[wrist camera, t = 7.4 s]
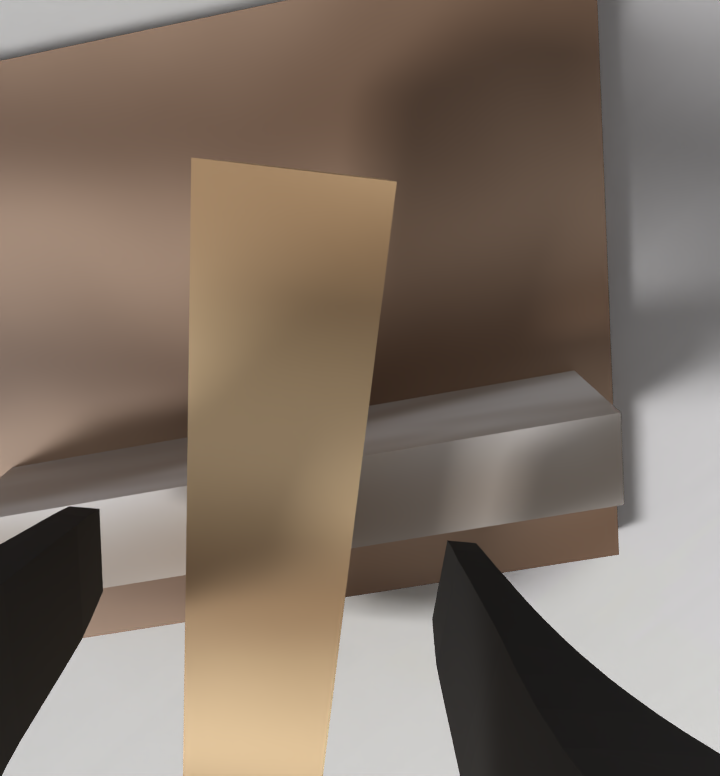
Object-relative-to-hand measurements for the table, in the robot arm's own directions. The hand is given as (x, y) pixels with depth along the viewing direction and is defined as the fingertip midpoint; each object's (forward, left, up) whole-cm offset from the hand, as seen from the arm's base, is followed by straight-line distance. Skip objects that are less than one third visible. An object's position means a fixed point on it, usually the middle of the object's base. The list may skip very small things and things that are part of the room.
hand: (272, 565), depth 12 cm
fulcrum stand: (-3, 0, -6) cm, 7 cm away
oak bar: (0, 0, -2) cm, 2 cm away
